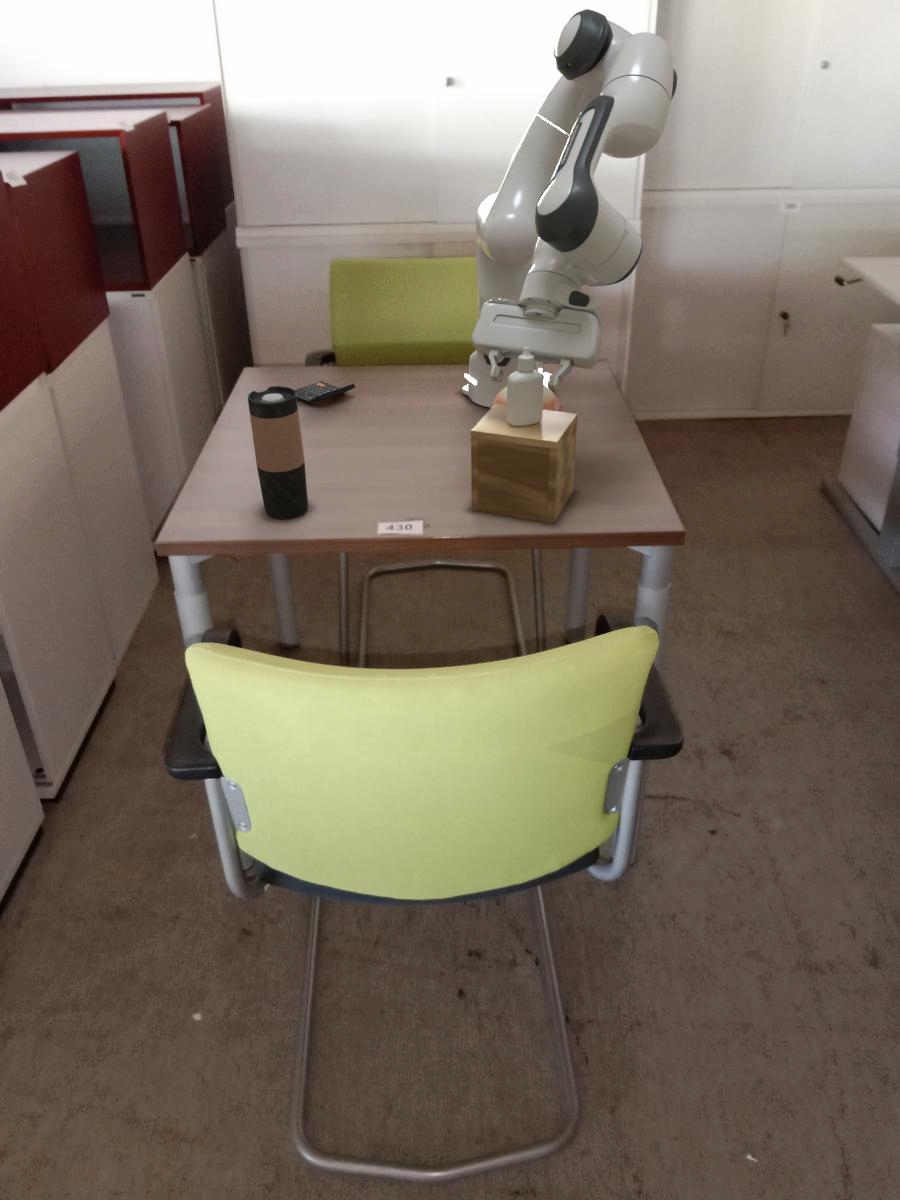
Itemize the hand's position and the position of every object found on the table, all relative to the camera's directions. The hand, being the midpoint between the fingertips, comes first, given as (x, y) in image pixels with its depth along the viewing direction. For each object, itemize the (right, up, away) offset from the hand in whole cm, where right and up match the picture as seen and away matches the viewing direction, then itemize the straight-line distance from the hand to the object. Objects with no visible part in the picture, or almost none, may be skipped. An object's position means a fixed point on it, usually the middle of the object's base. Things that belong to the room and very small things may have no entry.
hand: (523, 384), depth 143 cm
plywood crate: (+1, -17, +12) cm, 21 cm away
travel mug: (-38, -19, +11) cm, 44 cm away
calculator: (-39, +10, +54) cm, 67 cm away
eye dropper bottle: (+1, -5, +4) cm, 7 cm away
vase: (+3, -6, +29) cm, 30 cm away
